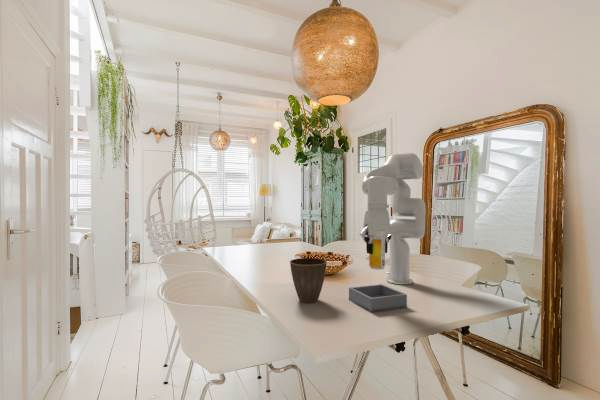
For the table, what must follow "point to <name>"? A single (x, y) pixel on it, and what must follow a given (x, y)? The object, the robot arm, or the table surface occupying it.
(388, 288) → the box
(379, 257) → the beer can
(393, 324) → the table surface
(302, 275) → the plant pot
